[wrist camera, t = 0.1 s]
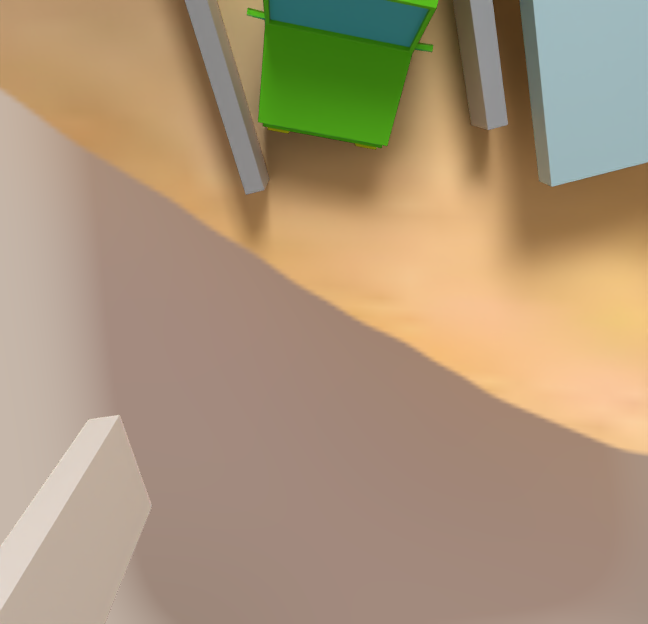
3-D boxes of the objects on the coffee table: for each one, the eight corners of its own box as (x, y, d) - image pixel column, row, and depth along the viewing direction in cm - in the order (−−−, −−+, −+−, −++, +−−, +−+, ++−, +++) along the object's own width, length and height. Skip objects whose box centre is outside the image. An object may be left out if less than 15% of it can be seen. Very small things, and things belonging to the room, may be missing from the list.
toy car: (246, 119, 37) (221, 132, 27) (274, -122, 32) (255, -206, 22) (396, 147, 37) (420, 168, 28) (446, -84, 32) (497, -150, 23)
